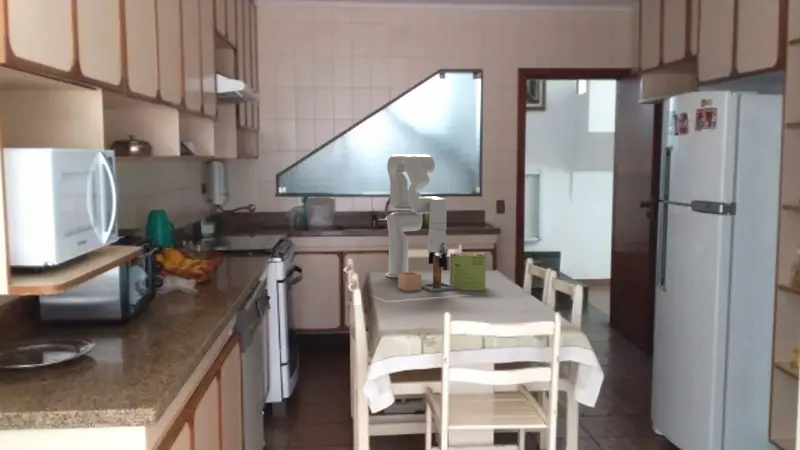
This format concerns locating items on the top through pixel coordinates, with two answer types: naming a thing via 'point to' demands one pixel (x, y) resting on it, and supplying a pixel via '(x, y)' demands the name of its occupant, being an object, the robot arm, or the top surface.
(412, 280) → the holder
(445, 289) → the tray
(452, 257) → the protein box
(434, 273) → the dowel
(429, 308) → the top surface
